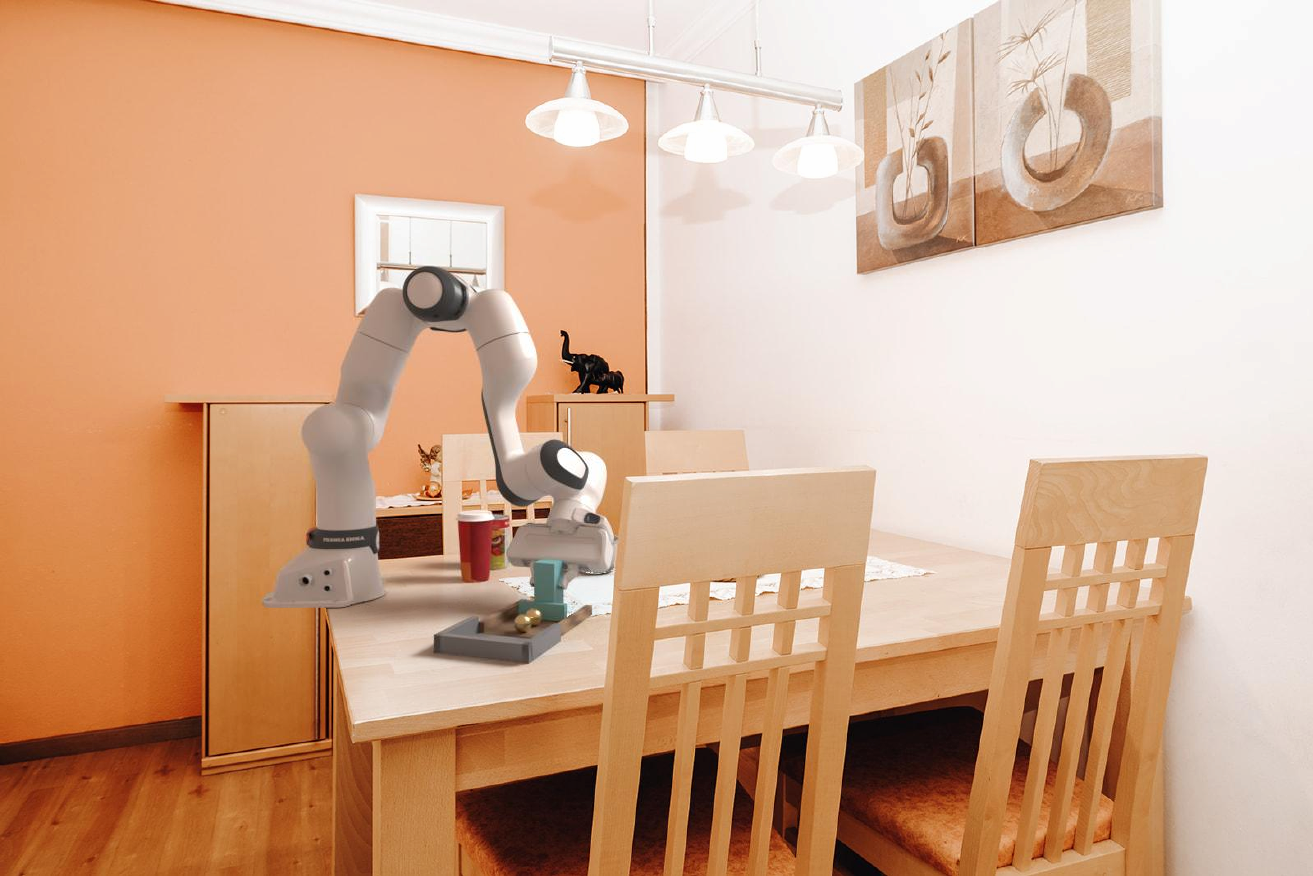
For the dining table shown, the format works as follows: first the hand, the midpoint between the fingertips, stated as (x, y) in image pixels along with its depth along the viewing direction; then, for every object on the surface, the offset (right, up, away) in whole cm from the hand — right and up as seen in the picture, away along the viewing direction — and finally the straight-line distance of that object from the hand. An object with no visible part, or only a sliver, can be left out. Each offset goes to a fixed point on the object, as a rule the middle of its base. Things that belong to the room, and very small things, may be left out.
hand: (547, 586), depth 141 cm
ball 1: (-3, -6, -9) cm, 11 cm away
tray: (-5, -7, -17) cm, 19 cm away
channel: (-1, -6, -4) cm, 7 cm away
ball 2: (-2, -6, -5) cm, 8 cm away
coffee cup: (-20, -5, +31) cm, 37 cm away
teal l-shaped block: (0, -5, +1) cm, 5 cm away
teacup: (+5, -4, +41) cm, 41 cm away
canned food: (-19, -4, +44) cm, 48 cm away
